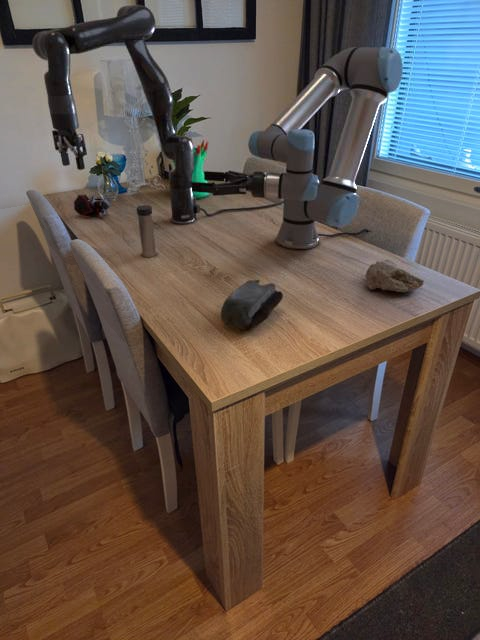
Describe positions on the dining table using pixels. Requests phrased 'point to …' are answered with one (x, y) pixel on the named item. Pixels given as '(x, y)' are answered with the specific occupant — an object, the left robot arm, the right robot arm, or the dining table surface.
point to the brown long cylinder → (147, 235)
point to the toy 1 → (90, 206)
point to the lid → (144, 210)
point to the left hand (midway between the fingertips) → (73, 167)
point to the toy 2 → (199, 167)
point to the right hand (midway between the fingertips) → (198, 181)
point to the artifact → (391, 277)
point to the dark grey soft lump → (250, 304)
